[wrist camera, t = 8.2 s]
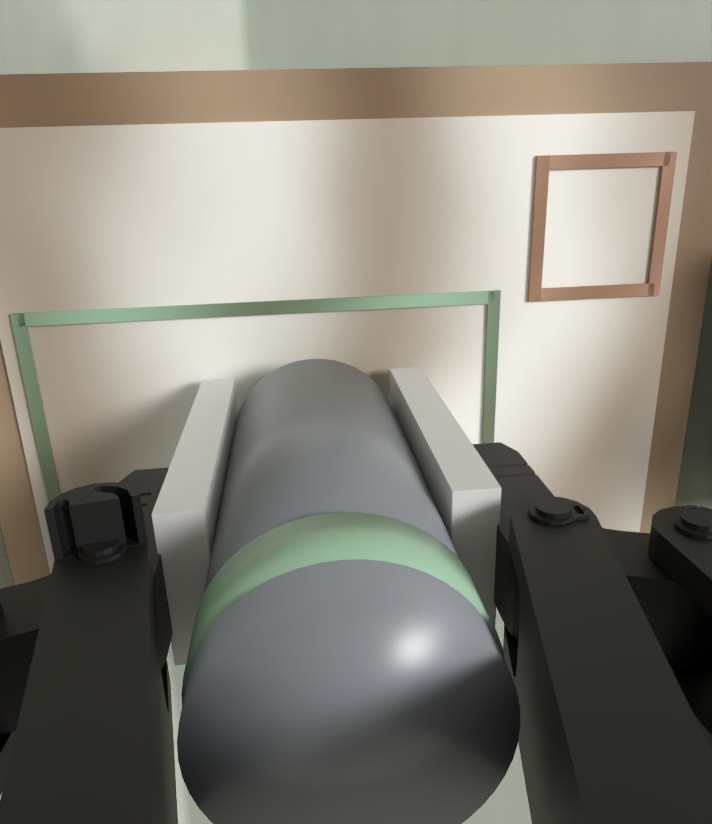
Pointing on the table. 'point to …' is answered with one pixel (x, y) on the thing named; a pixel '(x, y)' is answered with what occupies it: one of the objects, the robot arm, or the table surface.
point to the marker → (338, 626)
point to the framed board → (354, 262)
